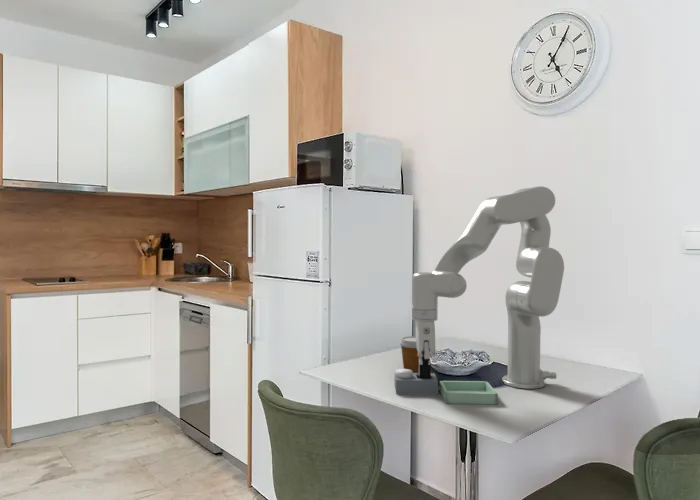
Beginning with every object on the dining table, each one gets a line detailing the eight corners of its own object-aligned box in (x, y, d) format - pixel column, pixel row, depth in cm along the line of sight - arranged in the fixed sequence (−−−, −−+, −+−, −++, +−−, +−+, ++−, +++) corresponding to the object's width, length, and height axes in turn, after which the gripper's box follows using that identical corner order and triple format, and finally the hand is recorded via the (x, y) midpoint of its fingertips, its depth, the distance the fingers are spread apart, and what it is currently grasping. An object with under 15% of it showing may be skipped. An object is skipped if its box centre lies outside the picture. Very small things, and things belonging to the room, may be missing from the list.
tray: (487, 390, 151) (487, 381, 151) (497, 404, 139) (497, 393, 139) (439, 390, 151) (439, 380, 151) (445, 403, 139) (445, 393, 139)
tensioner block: (434, 386, 155) (434, 367, 155) (437, 394, 147) (438, 375, 147) (394, 385, 156) (394, 367, 156) (396, 393, 148) (396, 374, 148)
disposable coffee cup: (428, 380, 162) (428, 342, 162) (397, 378, 164) (398, 341, 164) (429, 372, 171) (429, 336, 171) (401, 370, 173) (401, 335, 173)
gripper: (441, 319, 143) (440, 384, 143) (433, 310, 159) (433, 369, 160) (414, 318, 143) (414, 384, 143) (409, 310, 159) (409, 369, 160)
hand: (424, 375), depth 151 cm, fingers closed on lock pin, 3 cm apart
